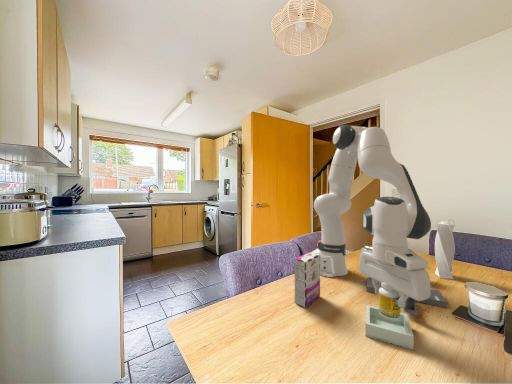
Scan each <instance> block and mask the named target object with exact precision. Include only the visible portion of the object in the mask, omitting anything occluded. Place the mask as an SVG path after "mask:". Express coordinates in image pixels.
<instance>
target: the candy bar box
mask: <svg viewBox="0 0 512 384" xmlns="http://www.w3.org/2000/svg"><path fill="white" fill-rule="evenodd" d="M293 264H294V304H296V305H298V306H301V307H303V308H306V309H307V308H308V307H309V306H310V305H311V304H313V303H314V302H315V301H316V300H317V299H319V297H321V275H320V254H316V253H312V251H311V252H310V251H309V252H307V253H305V254H302V255H300V256H299V257H296V258H294V262H293Z"/></svg>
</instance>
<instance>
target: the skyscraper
mask: <svg viewBox="0 0 512 384" xmlns="http://www.w3.org/2000/svg"><path fill="white" fill-rule="evenodd" d="M450 221H452V223H450ZM434 224H435V227H436V234H435V239H434V256H435V257H434V258H435V262H436V268H435V272H432V273H433V274H434V275H435V276H436V277H437V278H439V279H444V280H452V281H459V279H458V278H457V277H455V276H454V275H453V273H452V270H453V267H452V265H453V262H454V259H455V252H456V244H455V243H456V242H455V238H454V233H453V231H454V228H455V227H456V222H455V220H453V219H448V220H447V221H441V220H438V221H435V222H434Z"/></svg>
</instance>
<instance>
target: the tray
mask: <svg viewBox="0 0 512 384" xmlns="http://www.w3.org/2000/svg"><path fill="white" fill-rule="evenodd" d="M365 305H366V306H365V308H366V309H365V337H368V338H371V339H374V338H375V340H378V341H382V342H385V343H388V344H391V343H392V345H395V346H399V347H402V348H404V349H405V348H406V349H408V348H409V349H408V350H412V351H413V350H414V347H415V346H414V341H415V339H414V333H413V330H412V326H411V323H410V319H409V316H408V313H407V314H406V313H404V312H403V313H402V312H400V318H399V319H398V320H390V319H387V318H385V317H383V316H382V315H381V314H380V313H379V306H378V307H377V306H373V305H368V304H365Z"/></svg>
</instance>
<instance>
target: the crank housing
mask: <svg viewBox="0 0 512 384" xmlns="http://www.w3.org/2000/svg"><path fill="white" fill-rule="evenodd" d="M379 283H380V282H379ZM380 286H381V283H380ZM381 287H382V286H381ZM366 292H368V293H374V294H375V287H374V285H373V283H372V278H370V277H368V276H366ZM417 303H422V304H427V305H431V306H437V307H441V308H445V309H448V301H447V300H446V298H445V297H444V295H443V294H442V292H441V290H439V289H434V288H431V293H430V297H429V298H428V299H426V300H422V301H417V300H415V307H416V308H417Z"/></svg>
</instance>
